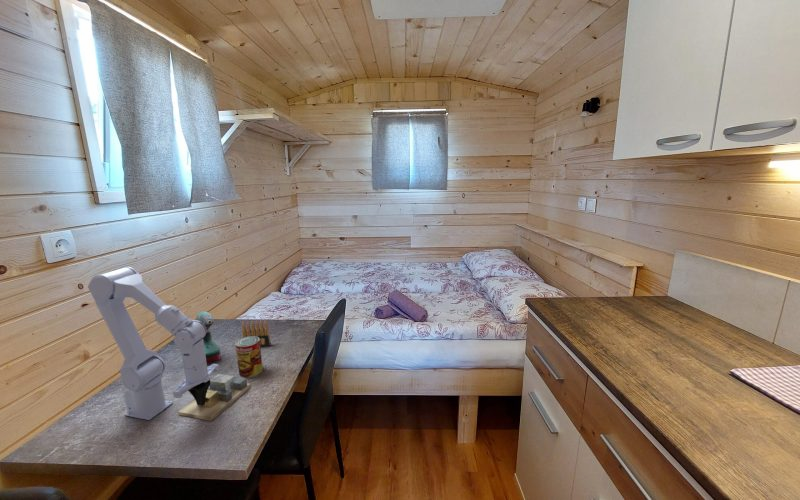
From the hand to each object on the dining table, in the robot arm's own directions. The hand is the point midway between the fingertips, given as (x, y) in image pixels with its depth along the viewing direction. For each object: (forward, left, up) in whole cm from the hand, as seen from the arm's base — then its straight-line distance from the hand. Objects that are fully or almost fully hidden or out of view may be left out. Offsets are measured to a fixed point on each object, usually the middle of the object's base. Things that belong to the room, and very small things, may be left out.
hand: (201, 404), depth 101 cm
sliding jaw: (0, +4, -1) cm, 4 cm away
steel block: (0, +8, -1) cm, 8 cm away
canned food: (0, +22, -3) cm, 22 cm away
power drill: (-20, +25, -3) cm, 32 cm away
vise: (0, +6, -2) cm, 6 cm away
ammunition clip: (-10, +39, -3) cm, 41 cm away
